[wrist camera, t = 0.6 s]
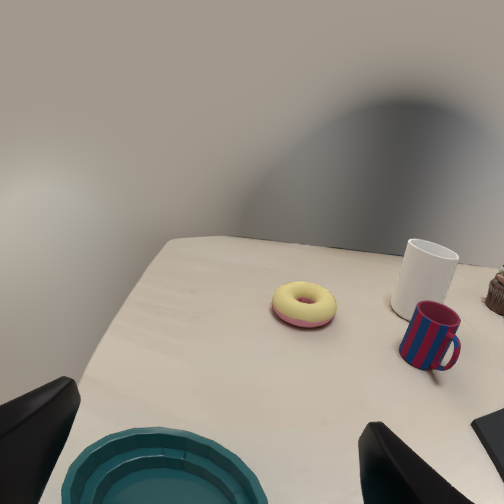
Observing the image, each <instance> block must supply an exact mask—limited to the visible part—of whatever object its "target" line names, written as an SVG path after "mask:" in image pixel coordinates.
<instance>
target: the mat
mask: <svg viewBox="0 0 504 504" xmlns="http://www.w3.org/2000/svg"><path fill="white" fill-rule="evenodd" d="M471 425H472V427H473V429H474V430H475V432H476V434H477V435H478V437H479V439H480V440H481V442H482V444H483V445H484V447H485V449H486V450H487V452H488V454H489V456H490V457H491V459H492V461H493V463H494V464H495V466H496V468H497V470H498V472H499V474H500V476H501V477H502V479H503V481H504V408H503V409H501V410H498V411H496V412H493V413H491V414H488V415H485V416H483V417H480V418H477V419H474V420H473V422H472V423H471Z"/></svg>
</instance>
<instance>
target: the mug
mask: <svg viewBox="0 0 504 504" xmlns="http://www.w3.org/2000/svg"><path fill="white" fill-rule="evenodd" d="M458 260H459V256H458V255H457V254H456V253H454V252H453V251H451V250H449V249H448V248H446V247H443V246H441V245H438V244H435V243H432V242H429V241H425V240H420V239H410V240H409V241H408V244H407V248H406V252H405V255H404V259H403V262H402V266H401V269H400V272H399V276H398V279H397V282H396V285H395V288H394V292H393V295H392V298H391V306H392V308H393V310H394V311H395V312H396V313H397V314H398V315H399V316H401V317H402V318H404V319H406V320H408V321H411V318H412V316H413V313H414V310H415V308H416V305H417V303H418V302H420V301H434V302H438V303H440V304H443V303H444V300H445V298H446V295H447V292H448V290H449V287H450V284H451V281H452V278H453V275H454V272H455V269H456V266H457V263H458Z"/></svg>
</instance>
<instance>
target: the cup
mask: <svg viewBox="0 0 504 504" xmlns="http://www.w3.org/2000/svg"><path fill="white" fill-rule="evenodd" d="M460 322H461V320H460V318H459V316H458V315H457V313H456V312H454V311H453V310H452V309H450V308H449V307H447V306H445V305H443V304H440V303H438V302H434V301H420V302H418V303H417V305H416V308H415V310H414V313H413V316H412V318H411V321H410V323H409V326H408V328H407V330H406V333H405V335H404V338H403V340H402V342H401V344H400V347H399V351H400V354H401V356H402V357H403V358H404V360H405V361H407V362H408V363H409V364H411V365H412V366H414V367H417V368H420V369H424V370H431V369H437V370H441V371H445V370H448V369H450V368H451V367H452V366H453V365H454V364H455V363H456V361H457V359H458V357H459V354H460V349H461V343H460V340H459V339H458V337H457V336H456V335H455V333H456V331H457V329H458V327H459V325H460ZM452 341H453V342H454V352H453V355H452V358H451V359H450V361H449V363H448V364H447V365H446V366H444V367H443V366H441V365H440V363H441V361H442V360H443V358H444V356H445V354H446V352H447V350H448V348H449V346H450V344H451V342H452Z"/></svg>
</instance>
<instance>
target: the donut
mask: <svg viewBox="0 0 504 504" xmlns="http://www.w3.org/2000/svg"><path fill="white" fill-rule="evenodd" d="M272 305H273V308H274V310H275V312H276V313H277V315H278V316H279V317H280V318H282V319H283V320H284V321H286V322H288V323H290V324H293V325H296V326H300V327H317V326H321V325H324V324H326V323H328V322H329V321H330V320H331V319H332V318H333V317H334V316H335V313H336V310H337V303H336V300H335V298H334V296H333V295H332V294H331V293H330V292H329V291H328V290H327V289H325V288H323V287H321V286H319V285H316V284H313V283H308V282H291V283H287V284H284V285H282V286H281V287H279V288H278V289H277V290H276V291H275V293H274V295H273V298H272Z"/></svg>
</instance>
